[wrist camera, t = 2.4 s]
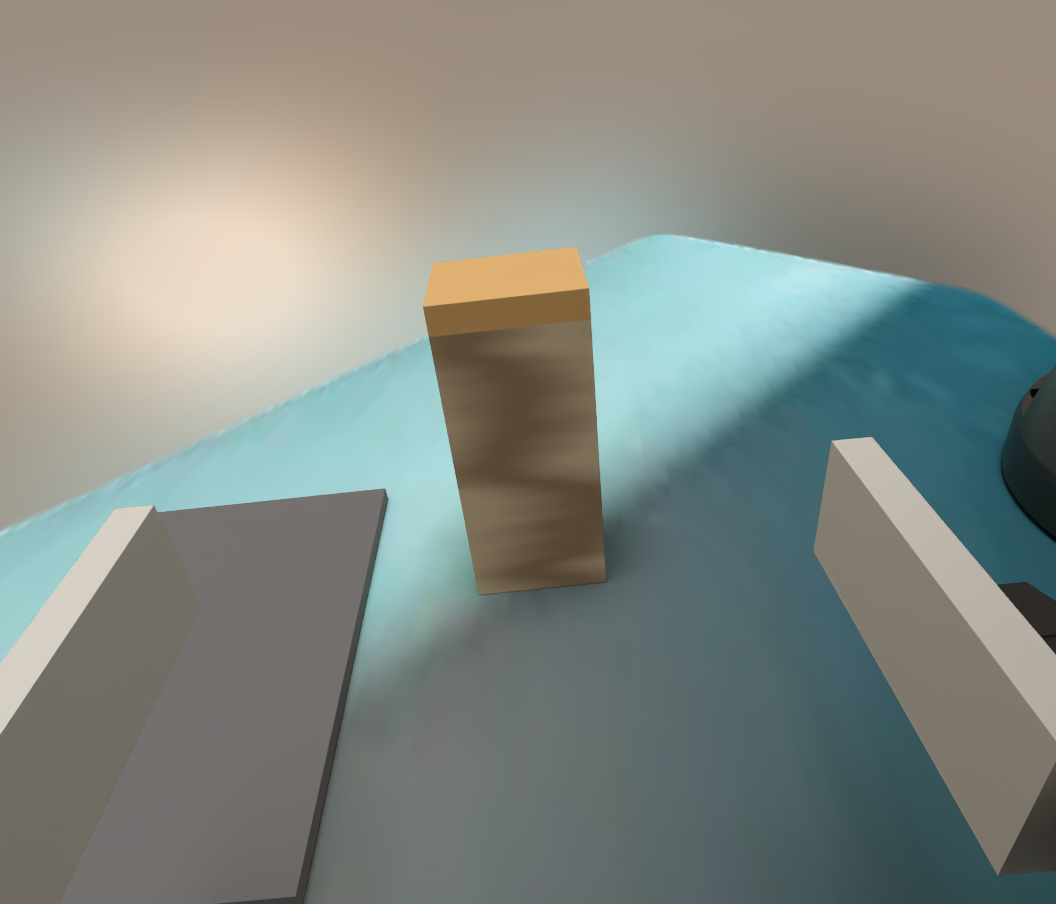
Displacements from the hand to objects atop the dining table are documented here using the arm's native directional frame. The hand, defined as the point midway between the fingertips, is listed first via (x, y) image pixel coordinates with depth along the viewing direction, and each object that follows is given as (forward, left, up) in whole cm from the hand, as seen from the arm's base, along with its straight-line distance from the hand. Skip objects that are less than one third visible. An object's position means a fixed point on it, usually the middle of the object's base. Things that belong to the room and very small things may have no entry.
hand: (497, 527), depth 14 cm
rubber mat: (+13, -7, -11) cm, 18 cm away
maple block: (0, -11, -11) cm, 16 cm away
